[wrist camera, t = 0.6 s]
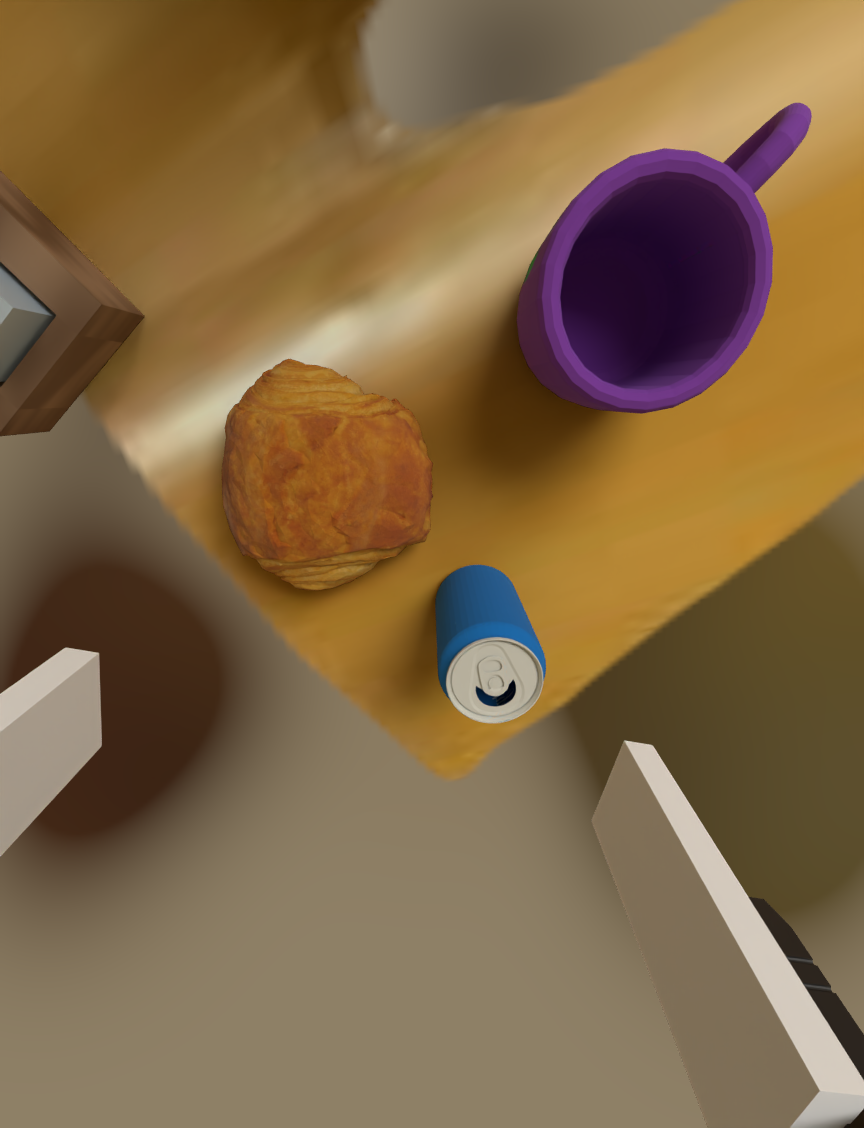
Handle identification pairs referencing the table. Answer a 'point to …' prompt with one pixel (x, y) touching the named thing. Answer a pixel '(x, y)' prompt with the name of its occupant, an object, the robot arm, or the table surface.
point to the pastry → (323, 476)
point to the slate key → (18, 321)
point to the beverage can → (486, 646)
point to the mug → (655, 275)
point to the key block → (78, 332)
